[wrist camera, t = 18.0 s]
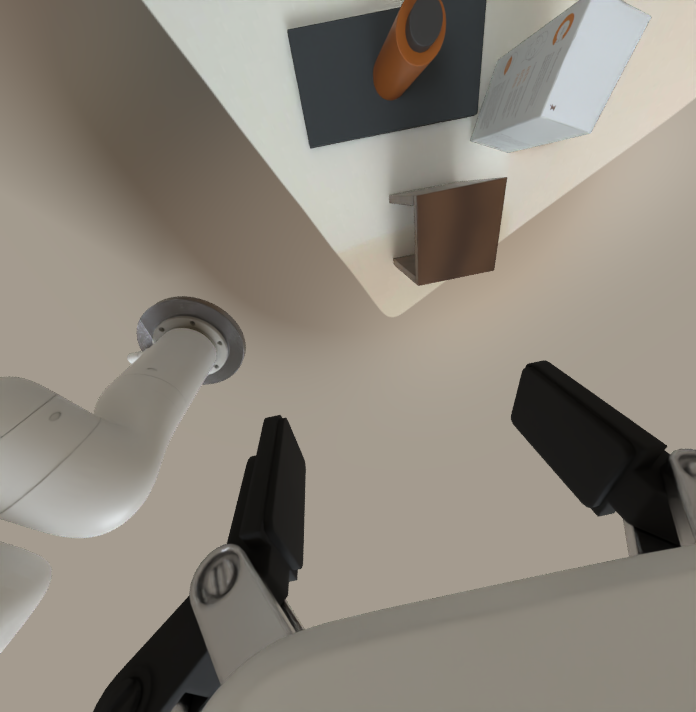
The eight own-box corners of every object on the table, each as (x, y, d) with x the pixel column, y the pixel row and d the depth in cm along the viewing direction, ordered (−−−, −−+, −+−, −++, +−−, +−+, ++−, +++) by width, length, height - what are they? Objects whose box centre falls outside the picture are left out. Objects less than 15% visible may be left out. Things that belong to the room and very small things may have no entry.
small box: (507, 153, 37) (591, 136, 26) (468, 141, 35) (538, 117, 24) (540, 74, 33) (656, 13, 22) (497, 57, 31) (597, -17, 20)
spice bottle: (374, 104, 31) (401, 64, 22) (370, 51, 29) (398, -18, 20) (410, 97, 31) (451, 55, 22) (408, 43, 29) (454, -29, 20)
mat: (310, 148, 34) (310, 147, 33) (287, 34, 28) (287, 29, 28) (473, 115, 34) (477, 113, 33) (482, -5, 28) (487, -11, 28)
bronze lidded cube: (393, 264, 43) (418, 286, 33) (388, 195, 38) (416, 195, 28) (451, 252, 43) (494, 270, 33) (455, 181, 38) (507, 177, 28)
